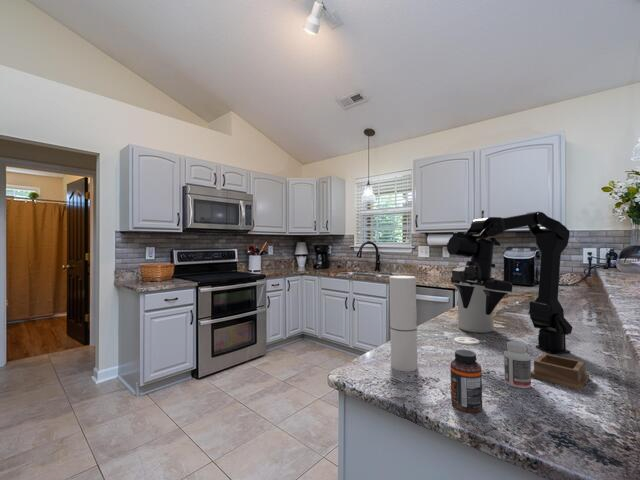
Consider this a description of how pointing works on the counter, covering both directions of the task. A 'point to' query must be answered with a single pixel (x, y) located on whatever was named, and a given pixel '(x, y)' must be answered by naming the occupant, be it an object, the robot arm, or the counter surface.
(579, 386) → the socket block
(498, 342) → the counter surface
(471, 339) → the pendant
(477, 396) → the supplement bottle
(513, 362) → the pill bottle
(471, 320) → the cylinder vase
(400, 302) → the cylindrical container
